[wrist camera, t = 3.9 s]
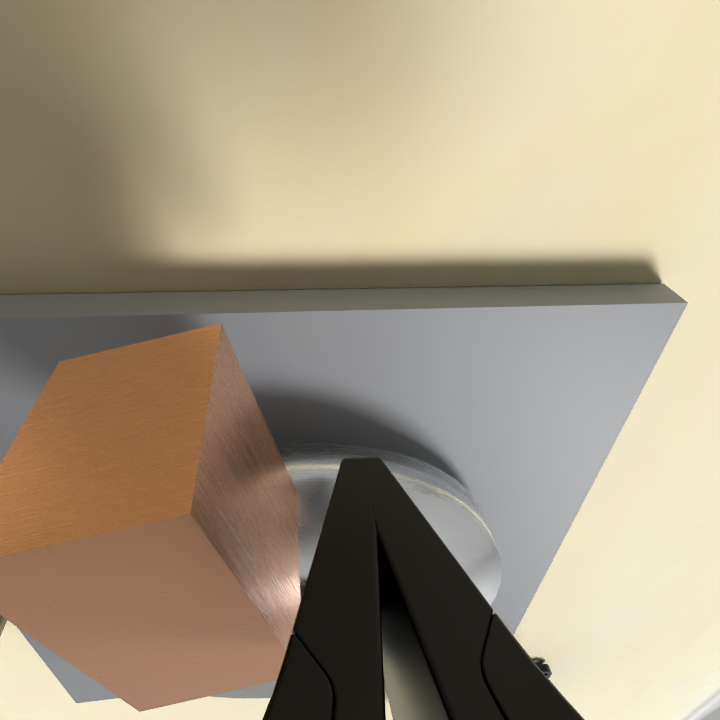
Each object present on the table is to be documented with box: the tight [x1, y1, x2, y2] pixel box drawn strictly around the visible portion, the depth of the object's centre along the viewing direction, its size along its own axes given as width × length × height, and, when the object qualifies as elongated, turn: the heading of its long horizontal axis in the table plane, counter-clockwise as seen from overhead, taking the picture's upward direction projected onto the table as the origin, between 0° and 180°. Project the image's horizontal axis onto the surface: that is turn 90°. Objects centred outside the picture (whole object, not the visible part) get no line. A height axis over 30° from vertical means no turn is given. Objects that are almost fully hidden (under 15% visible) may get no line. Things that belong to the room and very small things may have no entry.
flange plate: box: [0, 323, 502, 712], centre depth 13 cm, size 18×13×5 cm
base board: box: [0, 284, 688, 703], centre depth 17 cm, size 20×20×2 cm
